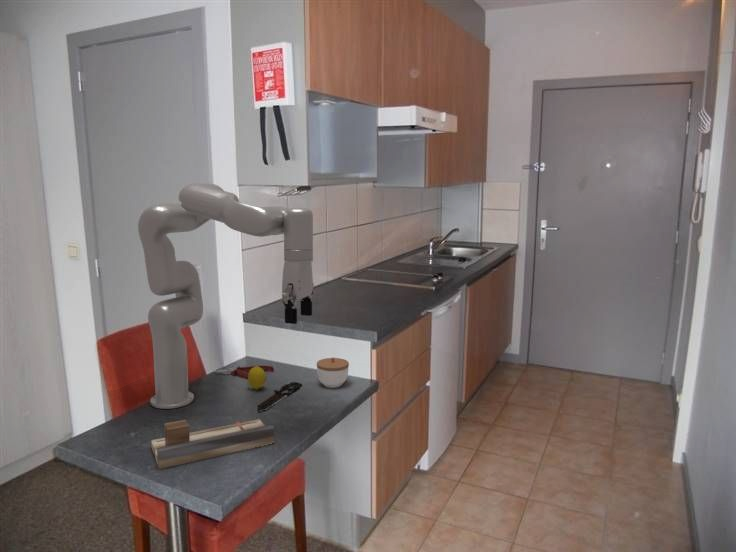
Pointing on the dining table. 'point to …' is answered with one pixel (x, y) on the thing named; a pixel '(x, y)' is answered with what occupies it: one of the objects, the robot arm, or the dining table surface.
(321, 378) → the lidded jar
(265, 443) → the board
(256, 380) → the lemon
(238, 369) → the pliers
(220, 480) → the dining table surface
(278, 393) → the knife
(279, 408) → the dining table surface
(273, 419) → the dining table surface
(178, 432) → the brown block with peg
